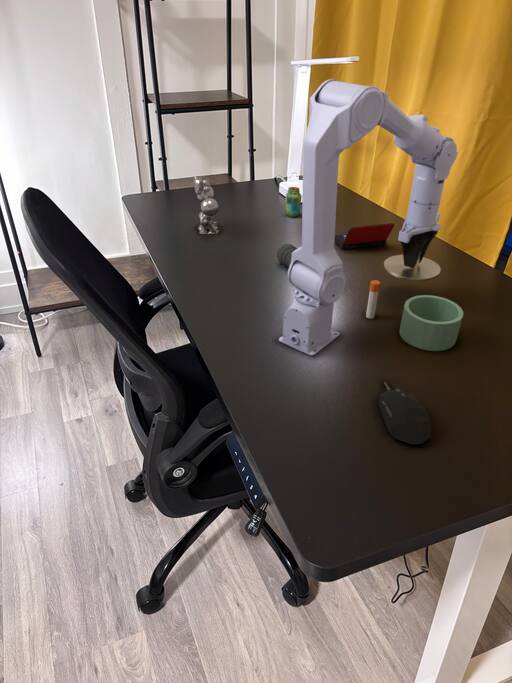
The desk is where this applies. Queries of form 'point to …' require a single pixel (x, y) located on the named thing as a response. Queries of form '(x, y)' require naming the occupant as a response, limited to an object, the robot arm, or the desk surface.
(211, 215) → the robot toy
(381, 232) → the handheld console
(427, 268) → the canister lid
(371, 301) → the marker
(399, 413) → the gaming mouse
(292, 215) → the green jar
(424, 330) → the canister
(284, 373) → the desk surface
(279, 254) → the flashlight
